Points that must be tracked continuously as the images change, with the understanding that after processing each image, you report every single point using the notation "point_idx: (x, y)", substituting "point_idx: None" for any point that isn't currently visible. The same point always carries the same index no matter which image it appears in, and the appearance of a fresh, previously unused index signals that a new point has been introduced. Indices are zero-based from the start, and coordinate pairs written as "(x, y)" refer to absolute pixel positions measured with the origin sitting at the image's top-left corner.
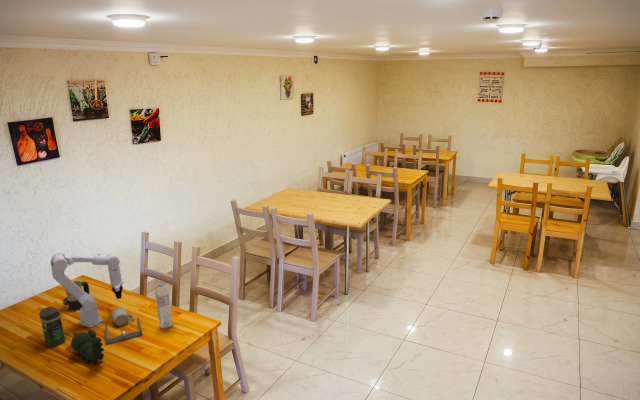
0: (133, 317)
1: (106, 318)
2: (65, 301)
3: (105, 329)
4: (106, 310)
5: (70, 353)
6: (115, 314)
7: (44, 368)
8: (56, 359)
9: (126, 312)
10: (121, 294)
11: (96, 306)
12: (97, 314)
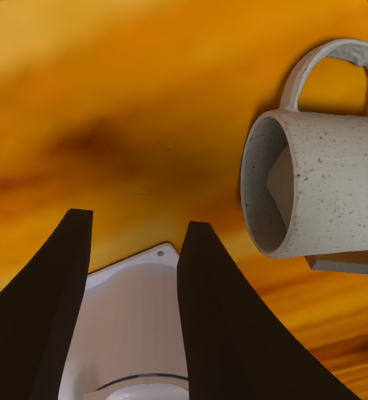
0: (360, 48)
1: (148, 221)
2: None
3: (363, 272)
4: (3, 202)
5: (355, 355)
6: (358, 250)
7: (362, 396)
8: (346, 380)
9: (346, 132)
10: (242, 275)
11: (170, 386)
12: (179, 318)
